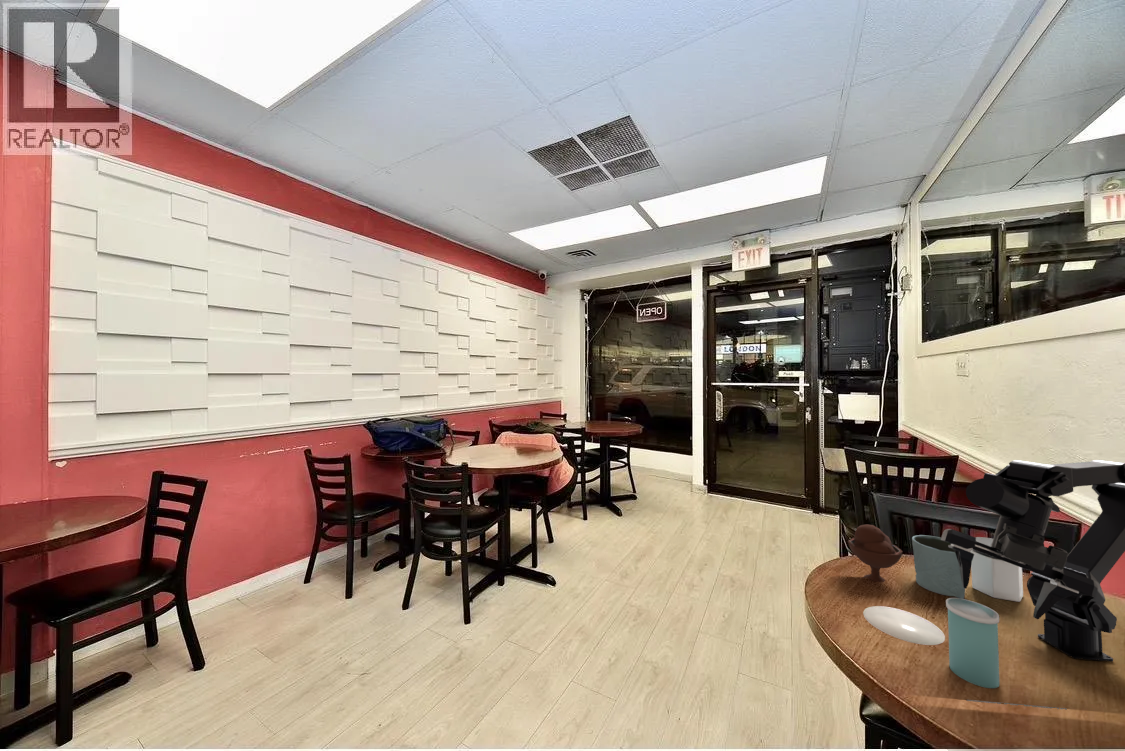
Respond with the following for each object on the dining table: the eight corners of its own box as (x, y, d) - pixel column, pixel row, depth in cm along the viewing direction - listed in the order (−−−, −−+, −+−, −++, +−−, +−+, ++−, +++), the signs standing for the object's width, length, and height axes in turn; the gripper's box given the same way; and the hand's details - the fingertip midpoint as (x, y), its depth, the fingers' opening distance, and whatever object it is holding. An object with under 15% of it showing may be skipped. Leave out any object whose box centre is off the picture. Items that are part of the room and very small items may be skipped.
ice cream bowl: (906, 598, 92) (904, 536, 93) (849, 584, 99) (847, 526, 99) (901, 579, 101) (899, 522, 101) (849, 568, 107) (847, 514, 108)
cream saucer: (912, 612, 87) (912, 608, 87) (964, 652, 74) (964, 647, 74) (850, 608, 88) (850, 604, 89) (889, 647, 76) (889, 642, 76)
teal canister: (959, 659, 71) (957, 594, 71) (1009, 684, 65) (1007, 614, 65) (940, 668, 69) (938, 602, 69) (989, 696, 63) (987, 623, 63)
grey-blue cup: (912, 576, 102) (910, 531, 102) (966, 589, 96) (964, 541, 96) (915, 593, 94) (913, 544, 95) (974, 607, 88) (972, 555, 88)
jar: (1036, 601, 90) (1033, 550, 90) (1004, 603, 89) (1001, 552, 90) (991, 581, 99) (989, 535, 99) (961, 583, 98) (959, 536, 99)
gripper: (962, 500, 73) (938, 578, 72) (1125, 553, 61) (1099, 647, 60) (951, 503, 82) (929, 572, 81) (1092, 549, 70) (1069, 632, 68)
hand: (998, 602), depth 72 cm, fingers open, 9 cm apart
